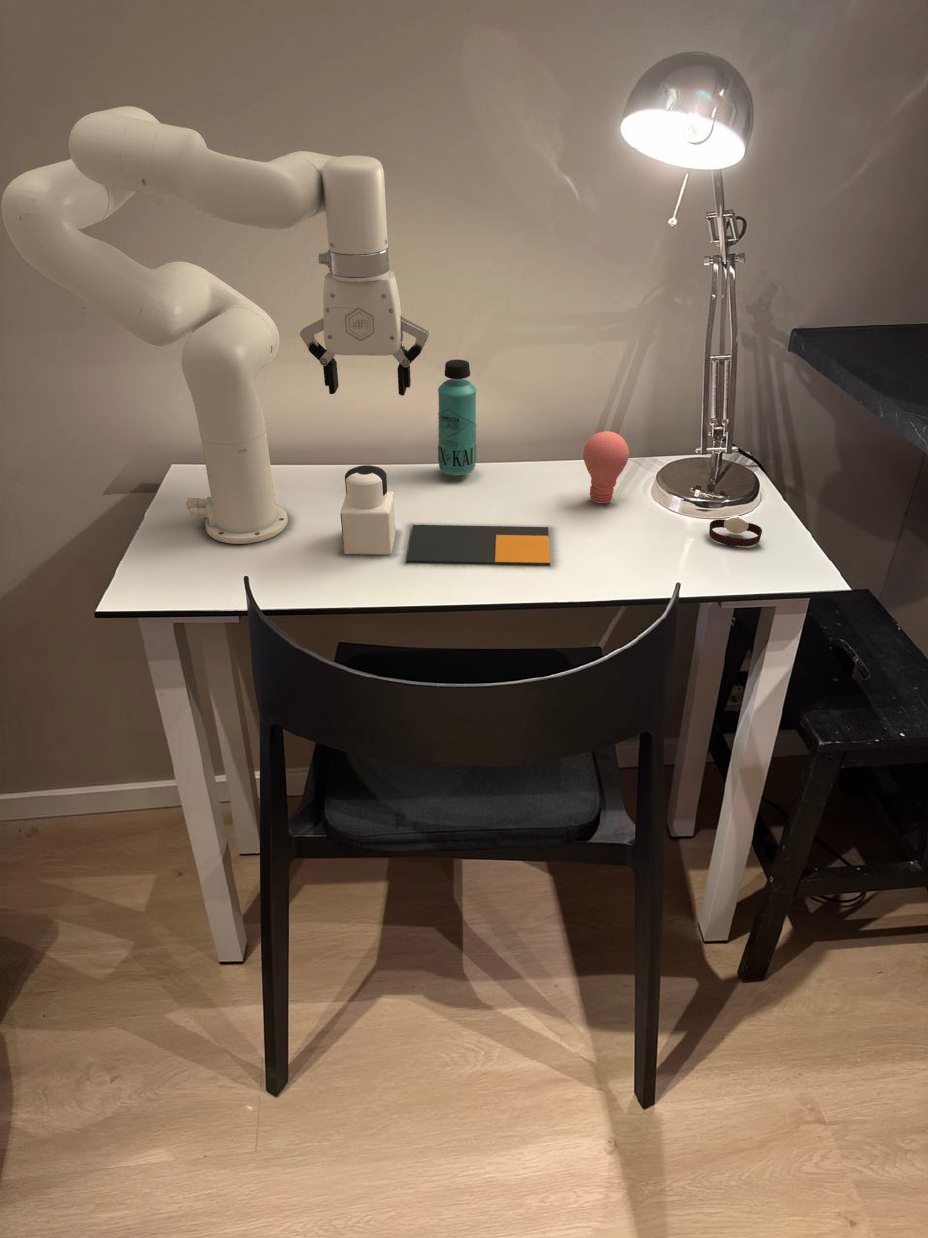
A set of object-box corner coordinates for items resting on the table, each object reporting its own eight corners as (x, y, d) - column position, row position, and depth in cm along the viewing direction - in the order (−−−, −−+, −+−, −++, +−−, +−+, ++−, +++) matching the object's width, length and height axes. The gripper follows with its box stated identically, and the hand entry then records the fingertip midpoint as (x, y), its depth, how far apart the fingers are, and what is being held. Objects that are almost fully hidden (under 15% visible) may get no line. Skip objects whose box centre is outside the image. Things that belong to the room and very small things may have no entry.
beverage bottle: (441, 466, 167) (439, 354, 156) (479, 468, 166) (479, 355, 155) (435, 483, 162) (432, 367, 150) (474, 485, 161) (474, 369, 150)
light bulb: (622, 514, 152) (629, 443, 145) (577, 510, 153) (582, 440, 146) (625, 494, 158) (632, 425, 151) (582, 490, 159) (587, 422, 152)
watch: (760, 536, 146) (764, 515, 144) (758, 551, 142) (763, 529, 140) (709, 529, 148) (712, 508, 145) (706, 544, 144) (709, 522, 142)
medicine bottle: (349, 531, 148) (344, 460, 141) (395, 532, 147) (392, 460, 141) (343, 555, 142) (337, 481, 135) (391, 555, 141) (387, 481, 135)
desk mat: (406, 562, 140) (406, 559, 139) (413, 526, 149) (412, 524, 148) (550, 565, 139) (550, 562, 139) (548, 529, 148) (548, 526, 148)
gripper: (286, 269, 120) (300, 400, 130) (423, 271, 119) (427, 402, 128) (299, 255, 126) (312, 380, 136) (429, 256, 125) (433, 383, 135)
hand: (368, 391), depth 132 cm, fingers open, 9 cm apart
